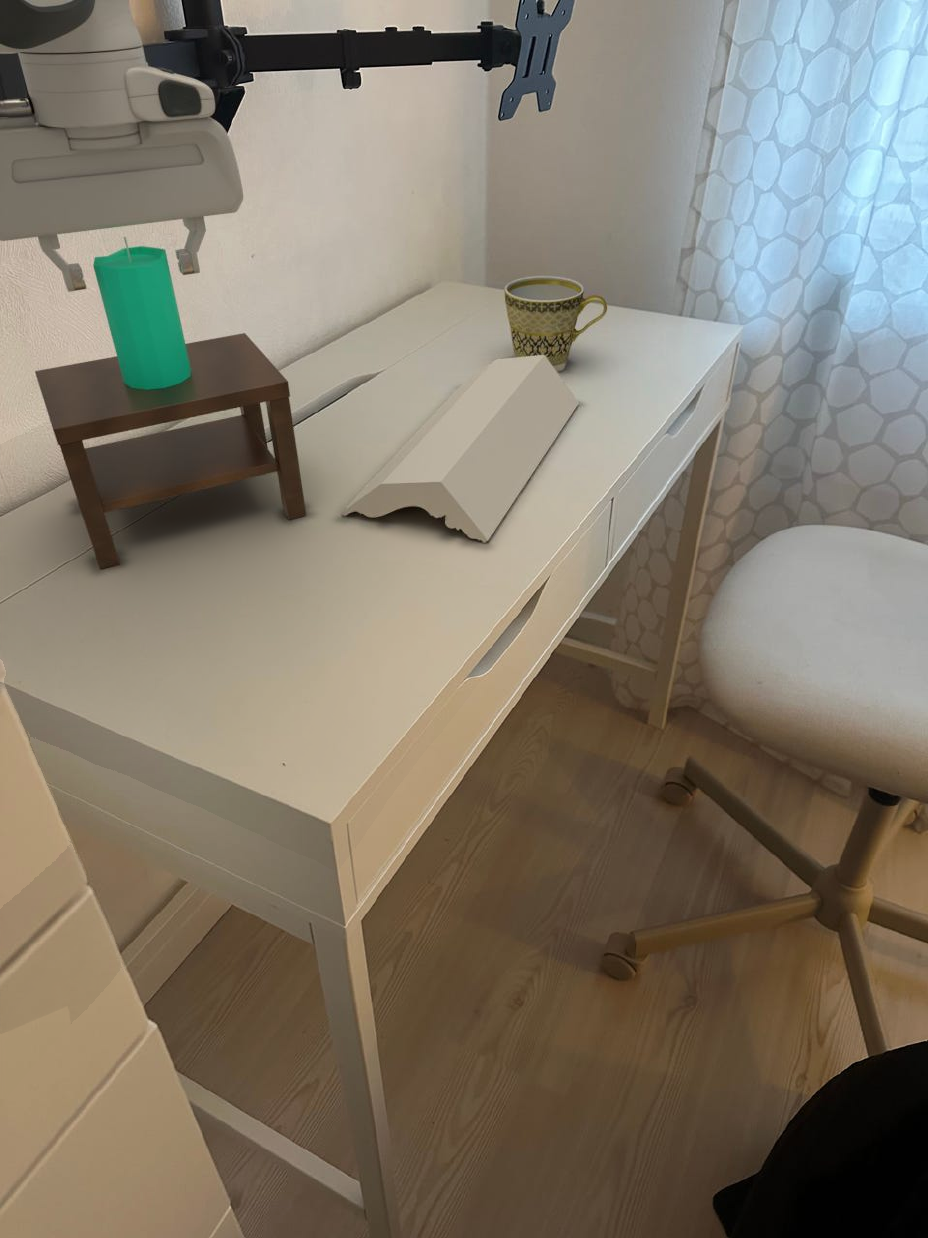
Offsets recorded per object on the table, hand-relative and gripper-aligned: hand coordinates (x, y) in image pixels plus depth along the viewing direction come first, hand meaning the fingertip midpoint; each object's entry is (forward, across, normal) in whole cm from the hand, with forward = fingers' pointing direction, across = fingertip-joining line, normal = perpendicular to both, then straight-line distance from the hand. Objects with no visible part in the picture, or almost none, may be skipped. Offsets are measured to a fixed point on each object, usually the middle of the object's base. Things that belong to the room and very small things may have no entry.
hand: (134, 280), depth 76 cm
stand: (+22, 0, 0) cm, 23 cm away
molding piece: (+22, +30, -3) cm, 38 cm away
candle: (+9, 0, 0) cm, 9 cm away
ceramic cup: (+22, +51, +14) cm, 58 cm away
